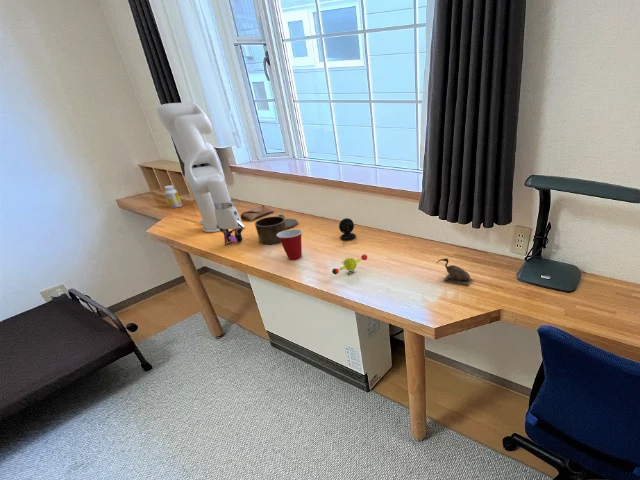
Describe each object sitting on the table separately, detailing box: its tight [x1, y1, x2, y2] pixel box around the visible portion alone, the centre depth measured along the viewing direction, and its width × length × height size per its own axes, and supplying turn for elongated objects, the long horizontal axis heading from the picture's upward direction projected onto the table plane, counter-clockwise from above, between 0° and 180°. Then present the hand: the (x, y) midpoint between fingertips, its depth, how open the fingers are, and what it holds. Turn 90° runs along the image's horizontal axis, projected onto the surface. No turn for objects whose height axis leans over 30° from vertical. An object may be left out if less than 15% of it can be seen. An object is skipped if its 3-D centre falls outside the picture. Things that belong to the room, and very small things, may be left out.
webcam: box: [338, 217, 357, 241], centre depth 177 cm, size 8×8×10 cm
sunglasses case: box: [240, 204, 275, 222], centre depth 210 cm, size 18×7×7 cm
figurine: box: [436, 258, 473, 287], centre depth 138 cm, size 14×4×9 cm, turn 65°
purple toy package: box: [223, 226, 242, 246], centre depth 177 cm, size 7×5×9 cm
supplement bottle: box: [164, 184, 183, 209], centre depth 228 cm, size 7×7×13 cm
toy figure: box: [331, 253, 368, 275], centre depth 146 cm, size 18×6×7 cm, turn 141°
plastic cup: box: [276, 228, 303, 261], centre depth 159 cm, size 11×11×12 cm
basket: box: [254, 215, 288, 246], centre depth 178 cm, size 14×14×10 cm
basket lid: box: [277, 212, 299, 229], centre depth 195 cm, size 15×15×7 cm
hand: (235, 240), depth 178 cm, fingers closed on purple toy package, 4 cm apart
